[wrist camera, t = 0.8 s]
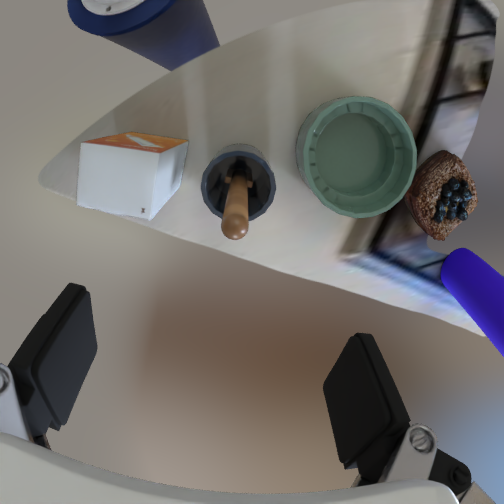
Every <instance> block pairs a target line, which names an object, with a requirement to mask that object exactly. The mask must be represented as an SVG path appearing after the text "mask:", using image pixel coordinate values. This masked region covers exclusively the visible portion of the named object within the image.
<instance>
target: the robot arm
mask: <svg viewBox="0 0 504 504" xmlns="http://www.w3.org/2000/svg"><path fill="white" fill-rule="evenodd" d="M81 1H82V3H83V5H84V6H85V7H86V9H87V10H89V11H91V12H93V13H95V14H97V15H104V16H106V15H116V14H120V13H123V12H126V11H128V10H130V9H132V8H135V7H136V6H138V5H139V4H141V3H143V2H144V1H145V0H81ZM96 352H97V341H96V335H95V328H94V322H93V314H92V306H91V298H90V293H89V292H88V291H86V288H85V287H84V286H82V285H78V284H74V283H69V284H68V285H67V286H66V288H65V289H64V290H63V291H62V292H61V294H60V295H59V296H58V298H57V299H56V300H55V302H54V303H53V304H52V305H51V307H50V308H49V309H48V311H47V312H46V314H44V315H43V316H42V317H41V318H40V319H39V320H38V322H37V323H36V325H35V326H34V327H33V329H32V330H31V332H30V333H29V335H28V336H27V337H26V339H25V340H24V342H23V343H22V345H21V347H20V348H19V349H18V351H17V352H16V354H15V355H14V357H13V358H12V360H11V361H10V363H9V365H8V366H5V365H4V364H2V363H0V504H496V503H495V502H494V501H493V500H492V499H491V498H490V497H489V496H488V495H487V494H486V493H485V492H484V491H483V490H482V489H481V488H480V487H479V486H478V485H477V484H476V483H475V482H472V483H471V473H470V470H469V469H468V467H467V466H466V465H465V464H463V463H462V462H460V461H458V460H457V459H455V458H453V457H451V456H450V455H448V454H446V453H444V452H443V451H441V450H439V449H438V448H437V447H438V441H437V437H436V435H435V433H434V432H433V431H432V429H431V428H429V427H428V426H426V425H423V424H413V425H412V426H410V424H409V422H410V421H411V420H410V418H409V415H408V413H407V411H406V408H405V406H404V403H403V401H402V399H401V396H400V394H399V392H398V390H397V387H396V385H395V383H394V381H393V378H392V376H391V374H390V372H389V369H388V367H387V365H386V363H385V361H384V359H383V356H382V354H381V352H380V350H379V348H378V346H377V344H376V342H375V340H374V337H373V336H372V335H371V334H366V333H356V334H355V335H354V336H352V337H350V338H349V340H348V342H347V344H346V346H345V347H344V349H343V351H342V353H341V354H340V356H339V358H338V360H337V362H336V363H335V365H334V366H333V368H332V370H331V371H330V373H329V375H328V376H327V378H326V380H325V382H324V384H323V391H324V395H325V400H326V403H327V408H328V412H329V417H330V421H331V425H332V429H333V434H334V438H335V442H336V447H337V452H338V456H339V460H340V462H341V463H343V464H344V469H352V468H358V471H359V474H358V476H357V477H356V479H355V481H354V482H353V484H352V486H351V487H350V488H346V489H338V490H330V491H320V492H308V493H289V494H247V493H246V494H245V493H228V492H215V491H206V490H198V489H190V488H183V487H177V486H170V485H166V484H160V483H155V482H150V481H146V480H141V479H137V478H133V477H129V476H125V475H122V474H118V473H115V472H111V471H108V470H105V469H101V468H98V467H95V466H92V465H89V464H86V463H83V462H80V461H77V460H75V459H72V458H69V457H67V456H64V455H61V454H59V453H56V452H54V451H52V450H51V448H50V445H49V443H48V440H47V437H46V432H47V430H48V427H50V428H52V429H55V430H57V431H59V430H60V427H61V425H65V424H66V423H67V420H68V418H69V415H70V413H71V410H72V408H73V405H74V403H75V401H76V398H77V396H78V393H79V391H80V389H81V386H82V384H83V382H84V379H85V377H86V375H87V373H88V371H89V368H90V366H91V364H92V362H93V360H94V357H95V355H96Z"/></svg>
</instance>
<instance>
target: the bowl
mask: <svg viewBox="0 0 504 504" xmlns="http://www.w3.org/2000/svg"><path fill="white" fill-rule="evenodd" d="M296 159H297V166H298V168H299V171H300V173H301V176H302V178H303V180H304V182H305V183H306V184H307V185H308V186H309V188H310V189H311V190H312V191H313V193H314V194H315V195H316V196H317V197H318V199H319V200H320V201H321V202H322V203H323V204H324V205H325V206H327V207H328V208H330V209H332V210H333V211H335V212H336V213H338V214H341V215H345V216H349V217H353V218H364V217H373V216H376V215H378V214H380V213H383V212H385V211H388V210H389V209H390V208H392V207H393V206H394V205H395V204H396V203H398V202H399V201H400V200H401V199H402V198H403V196H404V195H405V193H406V192H407V190H408V189H409V187H410V186H411V183H412V180H413V177H414V174H415V170H416V160H417V150H416V145H415V141H414V138H413V134H412V131H411V130H410V128H409V126H408V125H407V123H406V121H405V120H404V118H403V117H402V116H401V115H400V114H399V113H398V112H397V111H396V110H395V109H393V108H392V107H391V106H390V105H389V104H387V103H384V102H382V101H380V100H377V99H375V98H372V97H359V96H351V97H344V98H338V99H335V100H332V101H329V102H326V103H323V104H322V105H320V106H319V107H318V108H316V109H315V110H314V111H313V112H311V113H310V114H309V115H308V117H307V119H306V120H305V122H304V123H303V125H302V126H301V128H300V131H299V135H298V139H297V143H296Z"/></svg>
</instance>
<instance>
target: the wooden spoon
mask: <svg viewBox="0 0 504 504" xmlns="http://www.w3.org/2000/svg"><path fill="white" fill-rule="evenodd" d="M225 183H229V184H230V185H229V190H228V195H227V199H226V204H225V209H224V214H223V218H222V223H221V229H222V232H223V234H224V235H225V236H226V237H227V238H229V239H232V240H238V239H241V238H242V237H244V236H245V235H246V233H247V231H248V228H249V222H248V192H247V187H250V188H252V185H253V178H252V173H248V172H245V171H244V170H243V169H236V170H233V169H228V171H227V174H226V177H225Z"/></svg>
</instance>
